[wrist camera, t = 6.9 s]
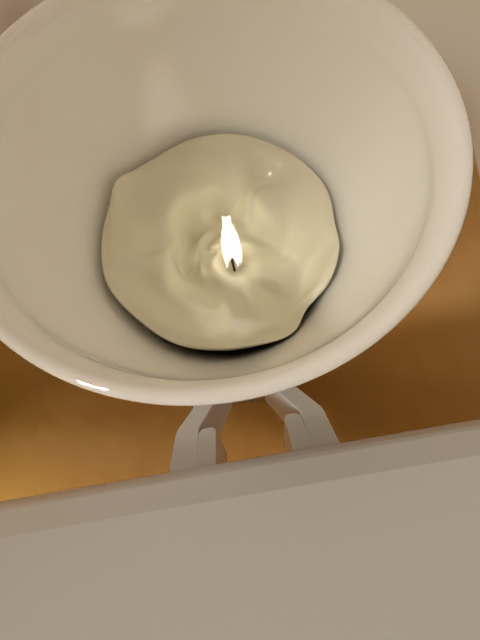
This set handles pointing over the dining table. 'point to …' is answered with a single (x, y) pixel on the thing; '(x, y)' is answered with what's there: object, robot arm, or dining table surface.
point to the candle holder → (220, 190)
